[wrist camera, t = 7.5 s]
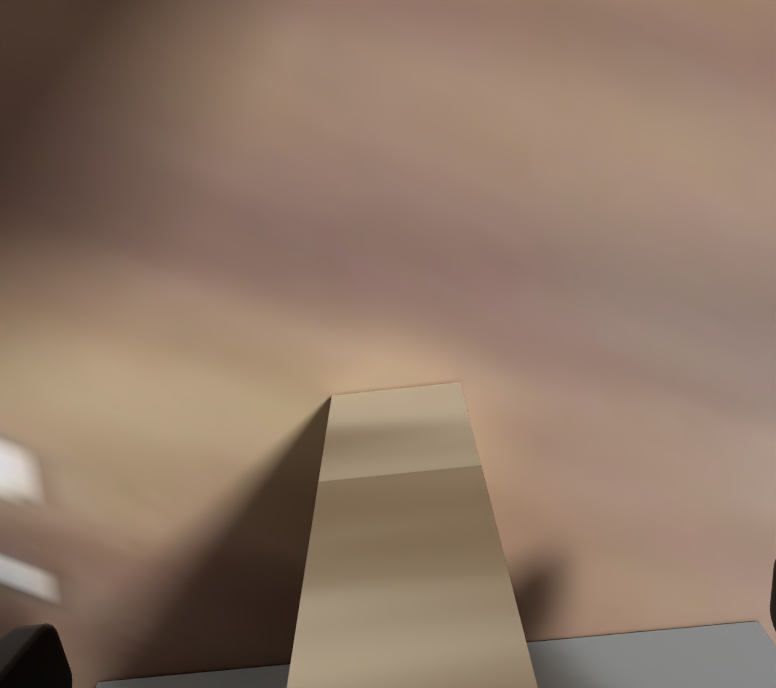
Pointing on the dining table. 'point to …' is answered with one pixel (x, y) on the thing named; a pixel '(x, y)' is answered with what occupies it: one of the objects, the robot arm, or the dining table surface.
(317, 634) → the birch plate
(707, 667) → the gray u-shaped block
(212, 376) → the dining table surface
